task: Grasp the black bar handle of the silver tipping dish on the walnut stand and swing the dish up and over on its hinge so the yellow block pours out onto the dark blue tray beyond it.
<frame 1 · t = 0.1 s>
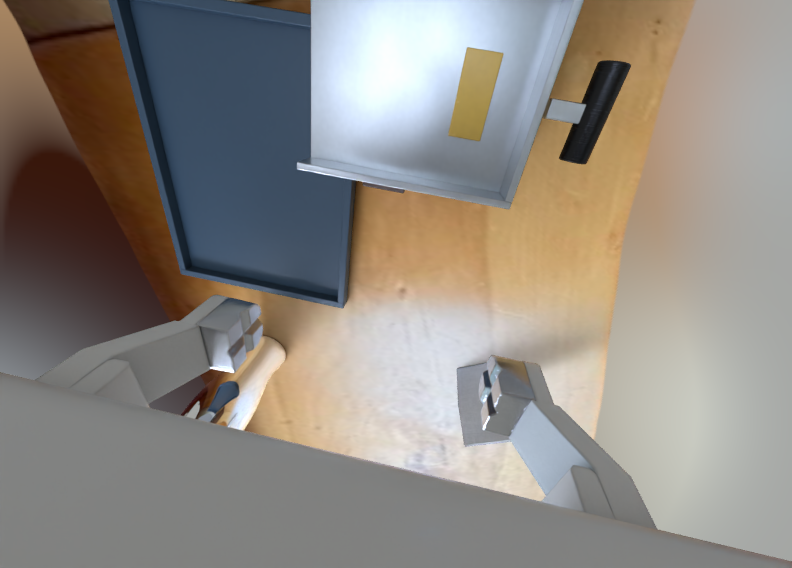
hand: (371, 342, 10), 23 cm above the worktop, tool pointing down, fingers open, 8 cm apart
grey boxy piece: (484, 372, 41), on the worktop
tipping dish: (447, 92, 18), point 9 cm above the worktop, hinge at 0.0°, touching yellow block
tray: (257, 177, 32), on the worktop
yellow block: (473, 97, 19), point 7 cm above the worktop, touching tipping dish
silver metal vase: (268, 349, 46), on the worktop
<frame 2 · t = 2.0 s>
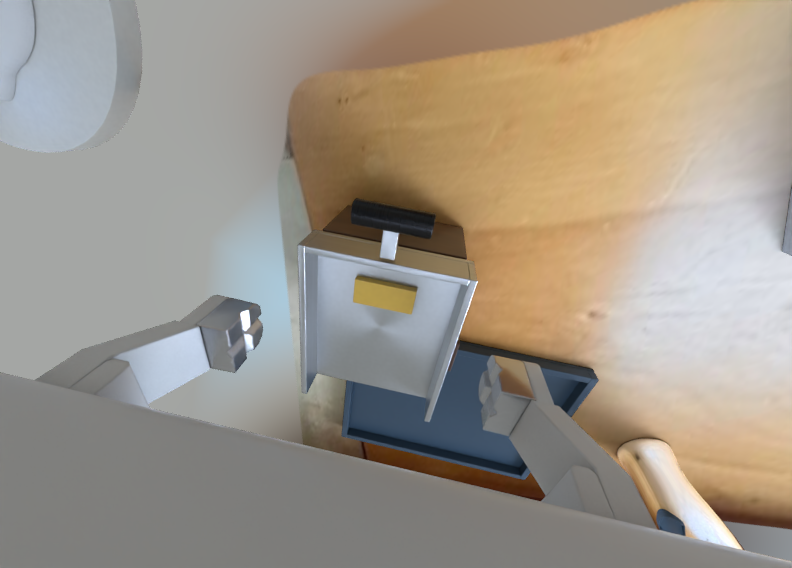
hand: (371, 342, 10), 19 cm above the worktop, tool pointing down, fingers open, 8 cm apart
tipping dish: (379, 318, 23), point 9 cm above the worktop, hinge at 0.0°, touching yellow block
tray: (448, 402, 40), on the worktop
yellow block: (385, 293, 23), point 7 cm above the worktop, touching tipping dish
stand: (398, 252, 30), on the worktop
silver metal vase: (642, 450, 39), on the worktop
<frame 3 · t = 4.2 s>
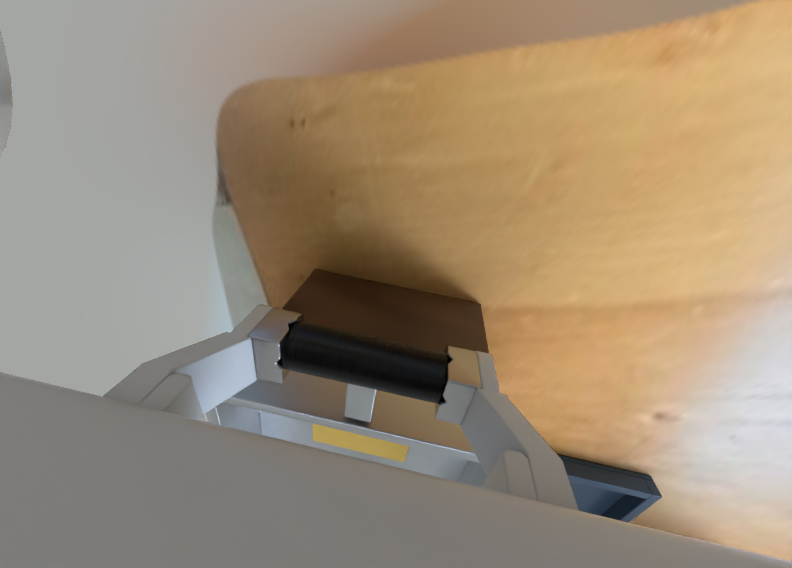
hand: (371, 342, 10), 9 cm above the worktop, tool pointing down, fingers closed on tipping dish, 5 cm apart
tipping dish: (354, 469, 15), point 9 cm above the worktop, hinge at -0.1°, touching gripper, yellow block
tray: (455, 496, 31), on the worktop
yellow block: (362, 428, 15), point 7 cm above the worktop, touching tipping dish
stand: (388, 329, 21), on the worktop
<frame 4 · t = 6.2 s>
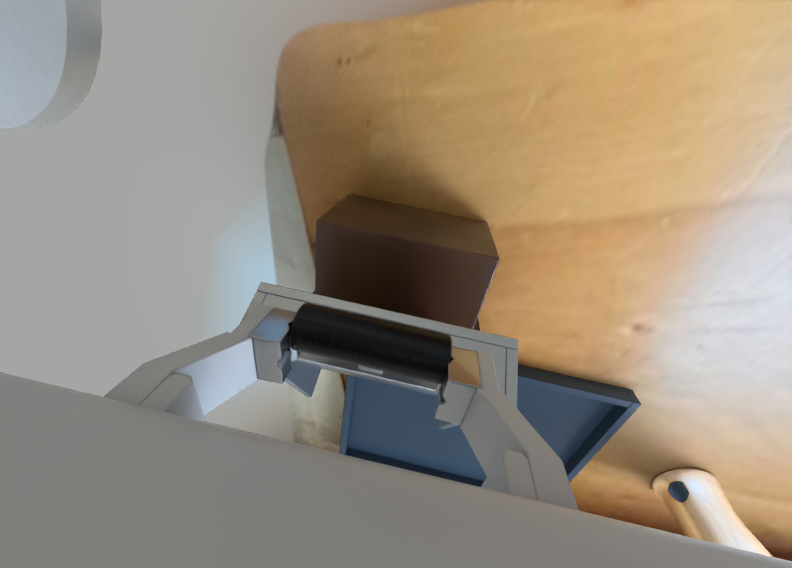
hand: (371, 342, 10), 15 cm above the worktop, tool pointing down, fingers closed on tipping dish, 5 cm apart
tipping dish: (377, 372, 18), point 11 cm above the worktop, hinge at 30.2°, touching gripper, yellow block
tray: (461, 423, 35), on the worktop
stand: (408, 251, 25), on the worktop
silver metal vase: (681, 481, 34), on the worktop
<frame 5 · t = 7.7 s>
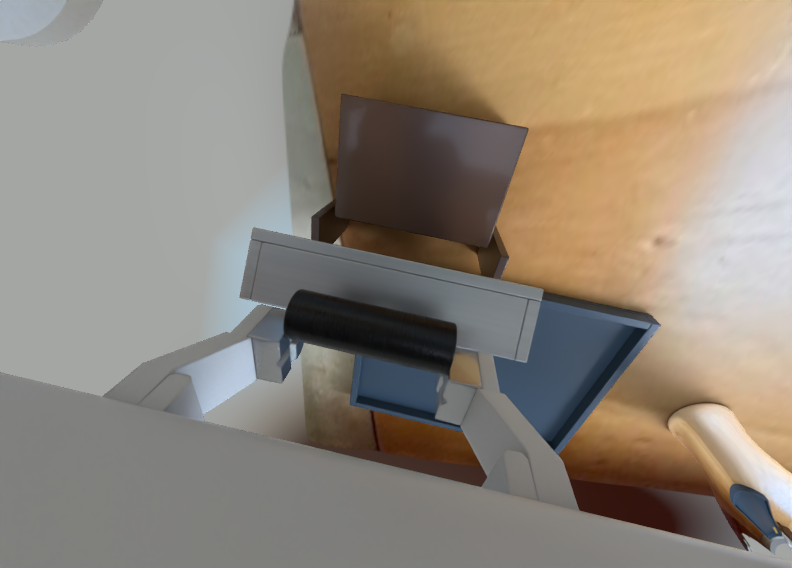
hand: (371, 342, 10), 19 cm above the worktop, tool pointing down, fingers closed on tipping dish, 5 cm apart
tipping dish: (395, 290, 18), point 12 cm above the worktop, hinge at 61.5°, touching gripper
tray: (474, 362, 34), on the worktop
stand: (427, 162, 25), on the worktop
silver metal vase: (697, 419, 34), on the worktop
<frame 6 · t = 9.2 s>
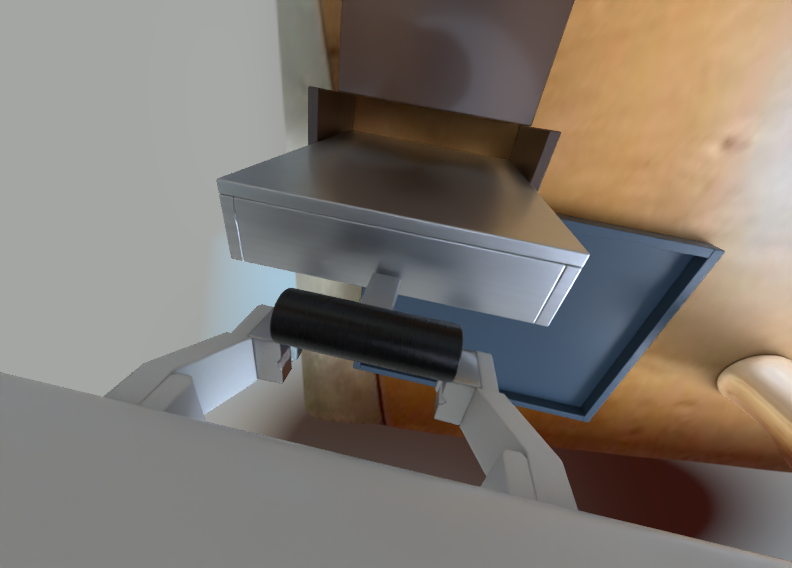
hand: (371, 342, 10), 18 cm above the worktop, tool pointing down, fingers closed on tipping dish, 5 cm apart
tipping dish: (409, 207, 15), point 11 cm above the worktop, hinge at 93.1°, touching gripper
tray: (496, 313, 30), on the worktop
stand: (448, 47, 20), on the worktop
silver metal vase: (752, 375, 30), on the worktop
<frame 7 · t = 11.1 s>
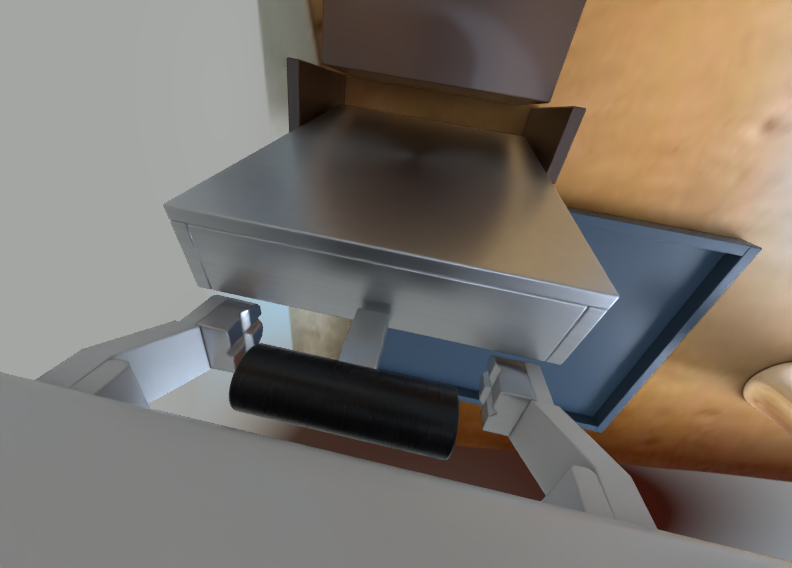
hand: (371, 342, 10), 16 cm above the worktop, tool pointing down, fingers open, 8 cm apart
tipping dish: (405, 208, 13), point 11 cm above the worktop, hinge at 99.8°
tray: (503, 316, 28), on the worktop
stand: (451, 17, 18), on the worktop
silver metal vase: (782, 383, 27), on the worktop
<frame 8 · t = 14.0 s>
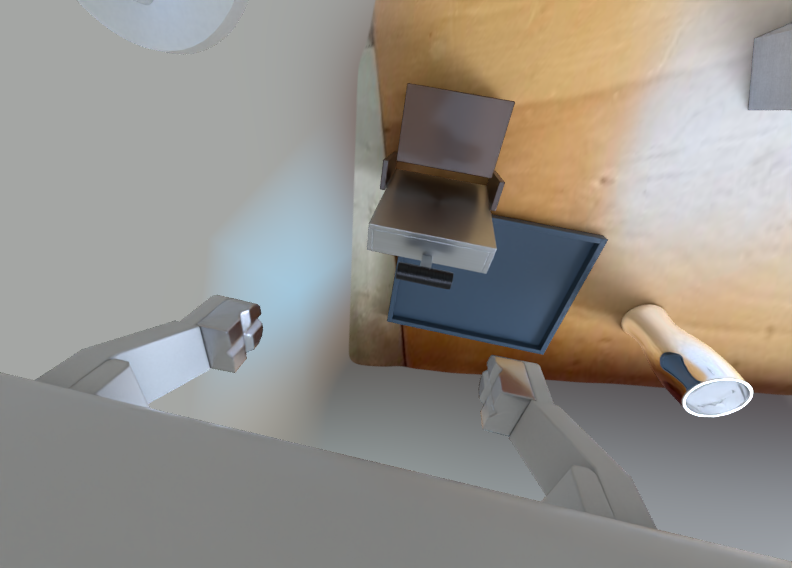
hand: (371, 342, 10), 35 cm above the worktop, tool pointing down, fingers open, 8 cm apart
grey boxy piece: (772, 67, 31), on the worktop
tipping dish: (433, 222, 33), point 11 cm above the worktop, hinge at 99.8°
tray: (481, 281, 48), on the worktop
stand: (450, 129, 37), on the worktop
silver metal vase: (642, 319, 47), on the worktop
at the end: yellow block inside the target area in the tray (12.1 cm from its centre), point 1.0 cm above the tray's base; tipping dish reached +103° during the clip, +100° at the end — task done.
